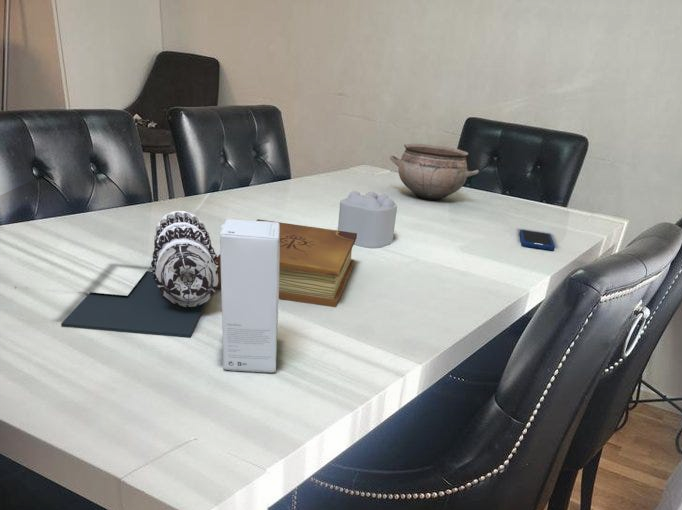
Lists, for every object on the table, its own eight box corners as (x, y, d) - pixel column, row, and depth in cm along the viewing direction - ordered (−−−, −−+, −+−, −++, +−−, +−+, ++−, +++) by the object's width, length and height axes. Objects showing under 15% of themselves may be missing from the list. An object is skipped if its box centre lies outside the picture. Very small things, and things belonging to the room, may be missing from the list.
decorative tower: (142, 248, 105) (138, 293, 84) (168, 196, 102) (170, 230, 81) (194, 277, 109) (202, 327, 89) (220, 228, 106) (235, 268, 86)
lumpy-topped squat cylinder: (330, 238, 132) (334, 193, 127) (359, 228, 142) (363, 186, 137) (376, 250, 128) (381, 203, 124) (402, 238, 138) (408, 195, 134)
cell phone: (521, 245, 144) (522, 242, 144) (519, 232, 155) (519, 228, 155) (554, 250, 143) (555, 247, 143) (549, 236, 155) (550, 233, 154)
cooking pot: (376, 194, 176) (381, 144, 169) (395, 185, 191) (401, 139, 184) (466, 211, 170) (475, 160, 164) (478, 200, 186) (487, 153, 179)
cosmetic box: (275, 374, 77) (280, 239, 68) (218, 371, 76) (216, 233, 67) (277, 346, 84) (282, 220, 75) (225, 343, 83) (224, 215, 74)
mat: (61, 326, 82) (61, 323, 81) (113, 270, 101) (113, 267, 101) (190, 337, 83) (190, 334, 83) (216, 280, 103) (216, 277, 103)
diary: (252, 251, 118) (253, 218, 115) (353, 266, 117) (357, 233, 114) (215, 289, 99) (215, 251, 96) (336, 307, 98) (339, 269, 95)
